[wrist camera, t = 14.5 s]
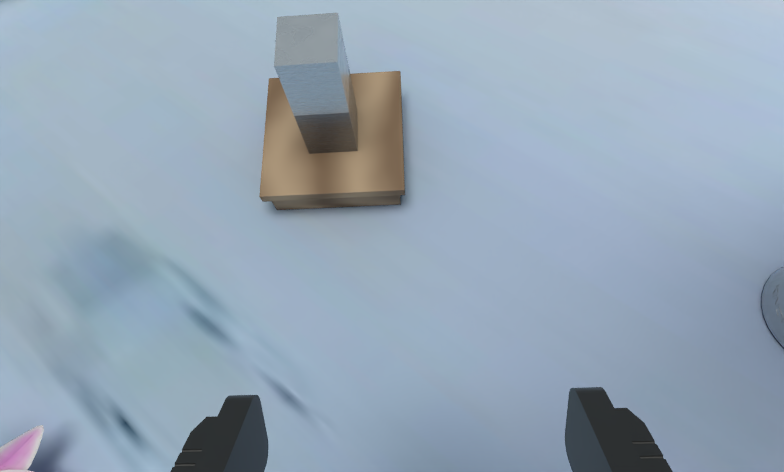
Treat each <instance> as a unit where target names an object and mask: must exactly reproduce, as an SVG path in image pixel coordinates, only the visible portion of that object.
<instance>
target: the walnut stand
mask: <svg viewBox="0 0 784 472" xmlns="http://www.w3.org/2000/svg"><path fill="white" fill-rule="evenodd" d="M350 76H351V81H352V86H353V91H354V96H355V101H356V106H357V124H358V151H350V152H333V153H316V154H309V152H308V150H307V147H306V145H305V142H304V140H303V137H302V135H301V132H300V130H299V127H298V125H297V122H296V119H295V117H294V114H293V112H292V109H291V107H290V104H289V102H288V99H287V97H286V94H285V92H284V89H283V87H282V84H281V82H280V79H279V78H269V85H268V98H267V110H266V123H265V135H264V148H263V160H262V172H261V185H260V198H261V200H262V201H272V203H273V204H274V206H275V207H276V209H277V210H287V209H309V208H331V207H353V206H376V205H398V204H400V195H405V185H404V158H403V130H402V102H401V76H400V71H392V72H375V73H357V74H350Z"/></svg>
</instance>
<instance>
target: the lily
mask: <svg viewBox="0 0 784 472" xmlns="http://www.w3.org/2000/svg"><path fill="white" fill-rule="evenodd" d="M43 430H44V428H43V425H40V426H37V427H35V428H33V429H31V430H29V431H27V432H25V433H24V434H22V435H20V436H18V437H17V438H15V439H13V440H12V441H10V442H8V443H7V444H5V445H3V446H2V447H0V472H33V471H28V470H27V469H28V468H29V467H30V465H31V463H32V461H33V459H34V457H35V455H36V453H37V450H38V448H39V445H40V442H41V439H42V435H43Z"/></svg>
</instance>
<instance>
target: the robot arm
mask: <svg viewBox="0 0 784 472" xmlns="http://www.w3.org/2000/svg"><path fill="white" fill-rule="evenodd" d="M762 309H763V315H764V318H765V320H766V323H767V325H768V327H769V329H770V331H771V332H772V334H773V335H774V337H775V338H776V339H777V340H778V341H779V343H780V344H781V345H782V346H783V347H784V267H782V268H780V269H778V270H777V271H776V272H775V273H773V274H772V275H771V276H770V278H769V279H768V281H767V282H766V284H765V286H764V290H763V293H762ZM565 445H566V452H567V456H568V460H569V463H570V466H571V468H572V471H573V472H672V470H671V468H670V467H669V465H668V463H667V461H666V460H665V459H663V455H662V453H661V451H660V449H659V448H658V446H657V444H655V442H654V439H653V437H652V436H651V434H650V432H649V430H648V429H647V427H646V425H645V424H644V422H642V421H641V420H640V419H639V418H638V417H637V416H635V415H634V414H633V413H632V412H631V411H630V410H628V409H627V408H614V407H613V405H612V403H611V401H610V399H609V397H608V396H607V394H606V392H605V390H604V389H603V388H601V387H592V388H571V389H570V392H569V400H568V410H567V419H566V429H565ZM267 458H268V438H267V432H266V427H265V422H264V417H263V412H262V407H261V402H260V398H259V396H258V395H237V396H228V397H227V398H226V400H225V402H224V404H223V406H222V408H221V410H220V412H219V414H218V417H206V418H205V419H204V420H203V421H202V422H201V423H200V424H199V425H198V426H197V427H196V428H195V429H194V430H193V431H192V432H191V433H190V435H189V437H188V439H187V441H186V443H185V445H184V447H183V449H182V453H180V454H179V456H178V458H177V460H176V462H175V467H173V468H172V470H171V472H264V470H265V467H266V463H267Z"/></svg>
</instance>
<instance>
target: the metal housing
mask: <svg viewBox="0 0 784 472" xmlns="http://www.w3.org/2000/svg"><path fill="white" fill-rule="evenodd" d="M274 67H275V69H276V72H277V74H278V77H279V79H280V82H281V84H282V87H283V89H284V92H285V94H286V97H287V99H288V102H289V104H290V107H291V109H292V112H293V114H294V117H295V119H296V122H297V125H298V127H299V130H300V132H301V135H302V137H303V140H304V142H305V145H306V147H307V150H308V152H309V154H316V153H333V152H350V151H358V124H357V106H356V101H355V96H354V91H353V86H352V81H351V76H350V71H349V66H348V61H347V56H346V51H345V46H344V41H343V36H342V31H341V26H340V21H339V16H338V13H328V14H314V15H299V16H285V17H277V31H276V46H275V62H274Z"/></svg>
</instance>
